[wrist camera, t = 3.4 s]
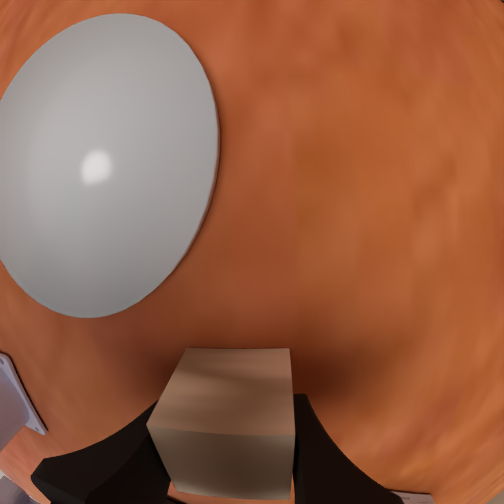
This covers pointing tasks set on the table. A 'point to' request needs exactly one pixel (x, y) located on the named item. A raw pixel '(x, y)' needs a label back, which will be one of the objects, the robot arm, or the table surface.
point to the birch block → (228, 423)
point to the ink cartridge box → (415, 498)
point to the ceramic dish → (105, 164)
